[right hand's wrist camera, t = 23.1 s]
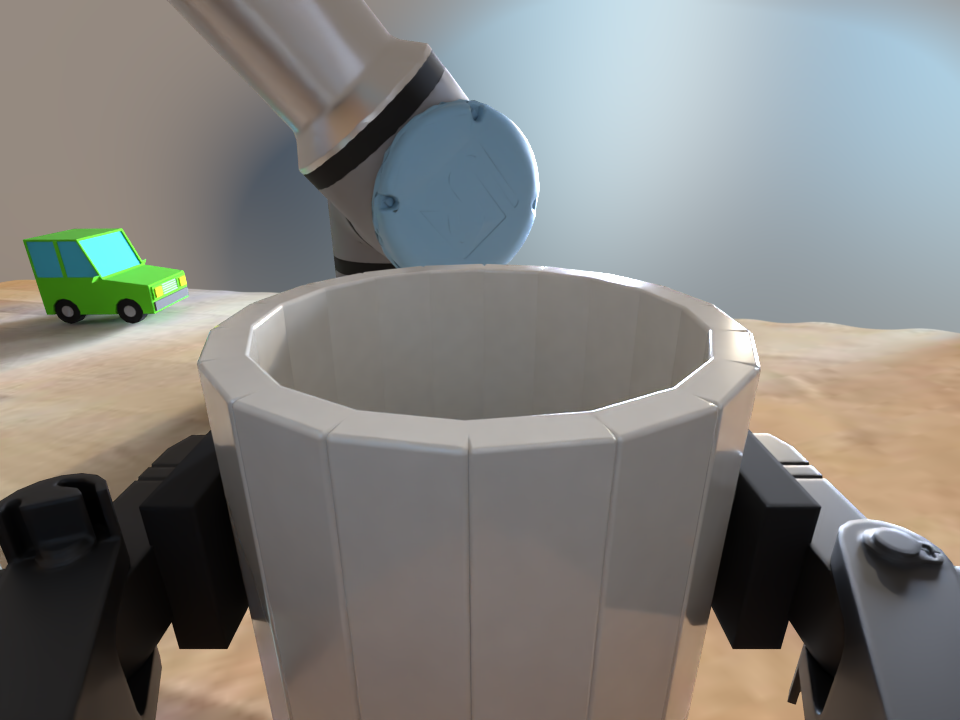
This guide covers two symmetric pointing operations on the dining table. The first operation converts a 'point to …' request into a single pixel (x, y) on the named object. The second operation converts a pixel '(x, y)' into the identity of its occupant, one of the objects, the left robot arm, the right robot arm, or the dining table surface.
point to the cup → (479, 489)
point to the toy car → (100, 276)
